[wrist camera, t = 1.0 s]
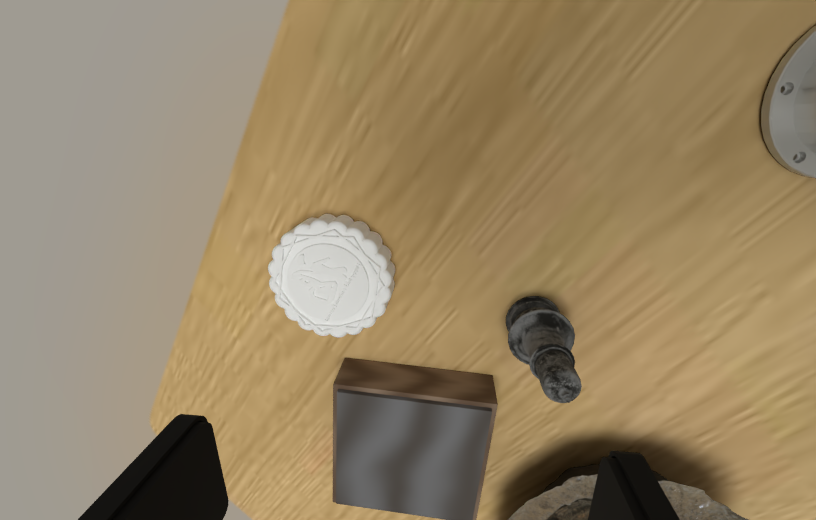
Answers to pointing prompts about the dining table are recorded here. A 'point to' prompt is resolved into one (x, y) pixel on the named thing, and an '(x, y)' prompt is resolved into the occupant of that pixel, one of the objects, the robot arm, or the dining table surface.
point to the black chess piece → (544, 346)
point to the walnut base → (411, 438)
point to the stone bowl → (573, 491)
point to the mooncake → (332, 275)
